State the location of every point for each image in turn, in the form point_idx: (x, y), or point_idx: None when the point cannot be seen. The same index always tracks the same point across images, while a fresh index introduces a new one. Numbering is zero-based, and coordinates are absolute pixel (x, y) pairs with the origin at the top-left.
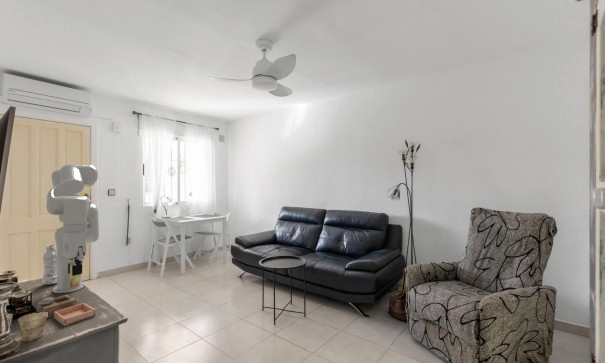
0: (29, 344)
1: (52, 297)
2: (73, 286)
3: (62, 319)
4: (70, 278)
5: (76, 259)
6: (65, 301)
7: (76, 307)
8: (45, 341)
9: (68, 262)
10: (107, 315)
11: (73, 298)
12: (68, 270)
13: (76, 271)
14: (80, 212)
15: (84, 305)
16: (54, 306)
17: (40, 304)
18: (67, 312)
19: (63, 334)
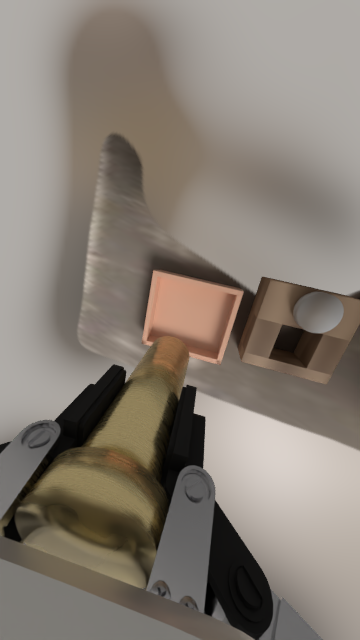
0: (137, 166)
1: (319, 331)
2: (153, 342)
3: (171, 274)
4: (156, 359)
5: (34, 525)
6: (264, 341)
7: (221, 342)
8: (117, 197)
9: (124, 461)
10: (121, 346)
11: (262, 365)
12: (183, 401)
13: (85, 393)
14: None
15: (204, 355)
16: (261, 304)
17: (333, 295)
18: (227, 319)
19: (115, 240)
